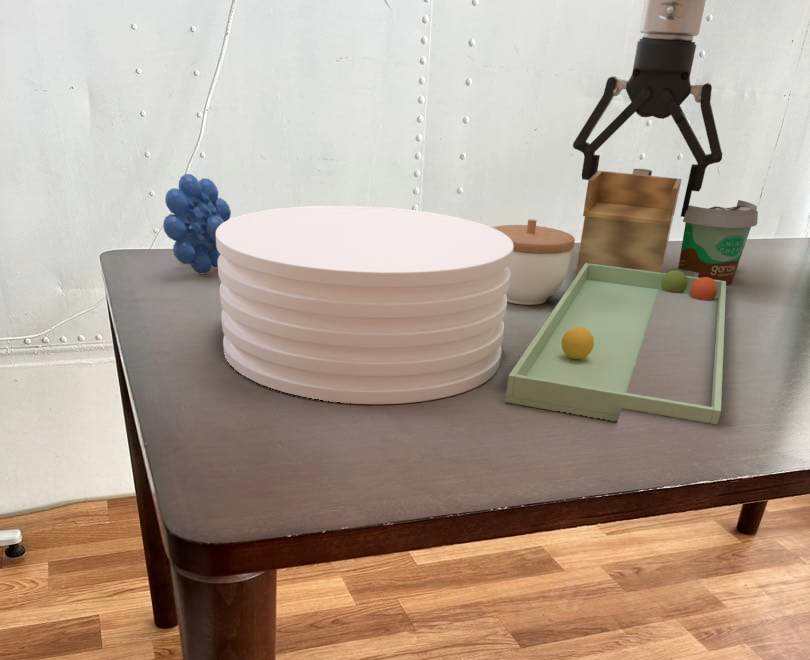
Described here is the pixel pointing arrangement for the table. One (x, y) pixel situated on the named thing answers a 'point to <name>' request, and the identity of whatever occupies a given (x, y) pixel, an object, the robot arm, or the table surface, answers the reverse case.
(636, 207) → the scoop
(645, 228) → the riser
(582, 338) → the ball mustard
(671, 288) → the ball olive
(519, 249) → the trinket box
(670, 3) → the robot arm
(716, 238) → the food container
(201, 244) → the grapes
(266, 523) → the table surface
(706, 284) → the ball terracotta
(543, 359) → the tray
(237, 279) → the plate stack
